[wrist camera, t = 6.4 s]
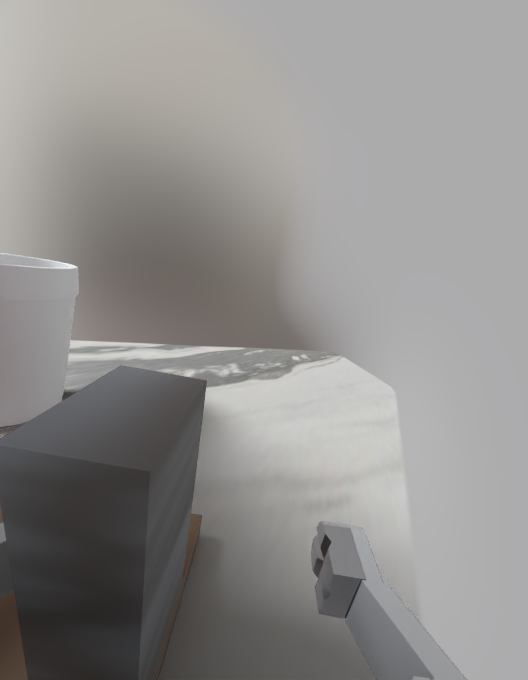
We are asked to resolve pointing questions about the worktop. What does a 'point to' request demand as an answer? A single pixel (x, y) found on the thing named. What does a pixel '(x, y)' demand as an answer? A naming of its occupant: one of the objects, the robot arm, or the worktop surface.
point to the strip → (100, 528)
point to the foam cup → (34, 334)
